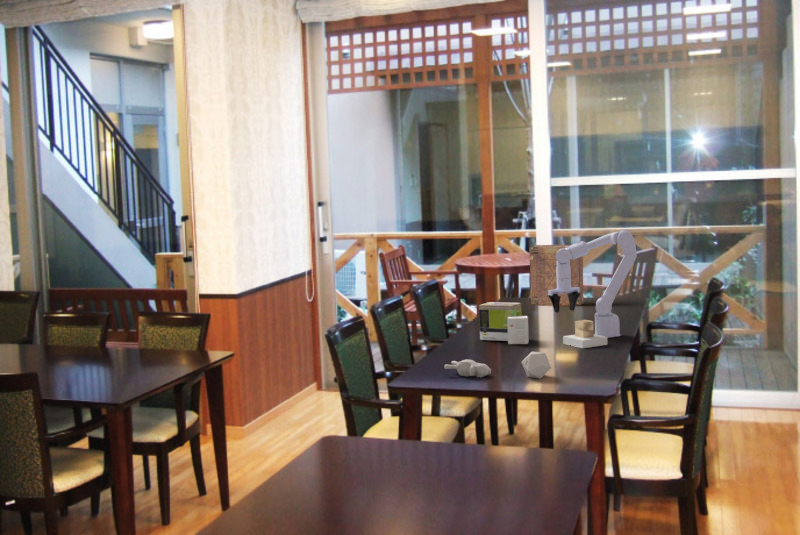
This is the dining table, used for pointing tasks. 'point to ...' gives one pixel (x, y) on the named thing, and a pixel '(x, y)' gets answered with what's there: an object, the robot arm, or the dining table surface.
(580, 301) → the book
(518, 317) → the small box
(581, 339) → the white square slab
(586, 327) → the maple block
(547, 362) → the die
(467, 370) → the bunny figurine
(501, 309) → the tea box
